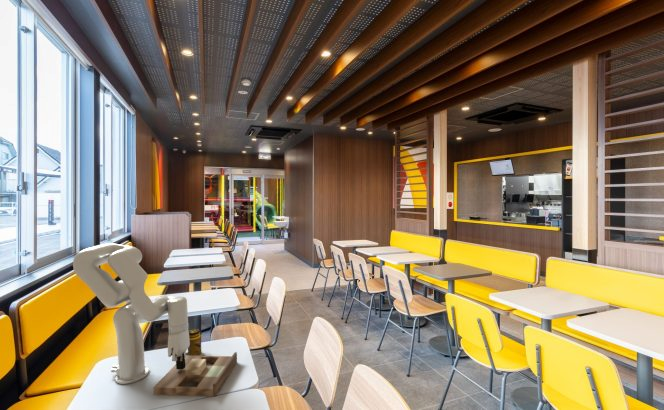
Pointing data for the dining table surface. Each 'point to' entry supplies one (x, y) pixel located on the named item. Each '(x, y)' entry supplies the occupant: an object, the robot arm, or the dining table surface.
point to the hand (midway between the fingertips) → (180, 368)
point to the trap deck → (197, 377)
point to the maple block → (195, 366)
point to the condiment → (194, 343)
